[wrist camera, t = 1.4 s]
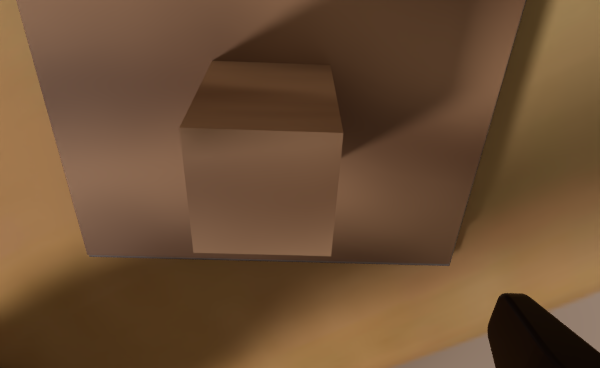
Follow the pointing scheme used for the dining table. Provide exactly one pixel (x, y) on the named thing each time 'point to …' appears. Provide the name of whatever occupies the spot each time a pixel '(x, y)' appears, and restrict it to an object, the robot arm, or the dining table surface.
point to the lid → (271, 122)
